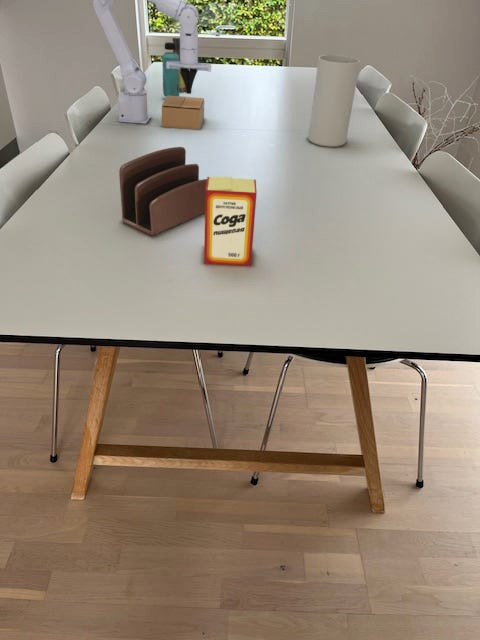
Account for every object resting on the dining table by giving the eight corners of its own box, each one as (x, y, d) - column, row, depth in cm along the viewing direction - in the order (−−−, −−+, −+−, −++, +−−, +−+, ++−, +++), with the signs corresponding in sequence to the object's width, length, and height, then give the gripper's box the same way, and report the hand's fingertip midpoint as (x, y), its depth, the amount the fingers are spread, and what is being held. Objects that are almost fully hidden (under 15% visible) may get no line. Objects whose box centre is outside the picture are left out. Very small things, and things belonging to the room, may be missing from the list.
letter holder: (121, 222, 121) (116, 161, 113) (183, 198, 134) (183, 141, 126) (152, 237, 116) (149, 174, 108) (213, 210, 129) (215, 152, 121)
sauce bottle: (188, 89, 225) (188, 36, 213) (185, 93, 220) (185, 38, 208) (173, 88, 225) (172, 35, 214) (170, 91, 220) (169, 37, 209)
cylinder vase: (344, 149, 172) (359, 64, 158) (306, 144, 174) (317, 60, 159) (346, 138, 182) (360, 57, 168) (309, 133, 184) (320, 53, 169)
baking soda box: (250, 250, 114) (256, 177, 105) (250, 265, 109) (256, 190, 99) (205, 248, 114) (207, 175, 104) (204, 263, 108) (205, 187, 99)
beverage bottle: (178, 102, 208) (178, 44, 196) (161, 100, 208) (160, 43, 196) (180, 97, 213) (180, 41, 201) (164, 96, 213) (162, 40, 201)
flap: (204, 99, 187) (204, 98, 187) (200, 108, 177) (200, 107, 177) (186, 97, 187) (186, 96, 187) (181, 107, 177) (181, 106, 177)
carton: (204, 119, 191) (204, 98, 187) (199, 129, 181) (200, 107, 177) (168, 116, 191) (167, 95, 187) (162, 126, 181) (161, 104, 177)
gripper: (164, 48, 169) (165, 94, 177) (210, 52, 169) (209, 97, 177) (167, 45, 175) (168, 89, 183) (212, 48, 175) (211, 92, 183)
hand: (188, 93), depth 180 cm, fingers closed
